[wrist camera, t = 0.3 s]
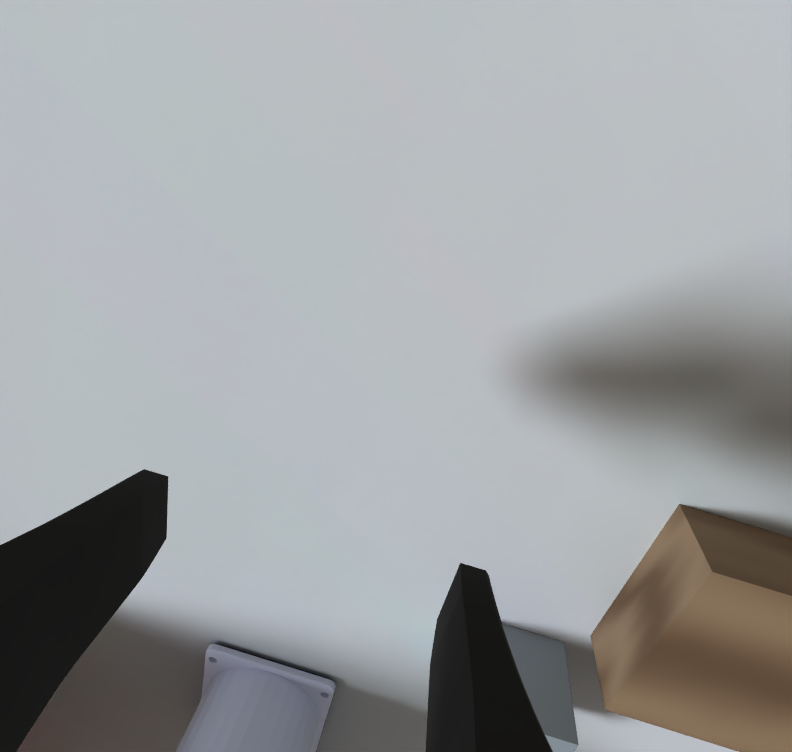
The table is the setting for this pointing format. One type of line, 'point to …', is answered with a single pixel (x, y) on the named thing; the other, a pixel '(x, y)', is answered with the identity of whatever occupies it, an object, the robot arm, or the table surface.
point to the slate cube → (546, 684)
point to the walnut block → (704, 635)
